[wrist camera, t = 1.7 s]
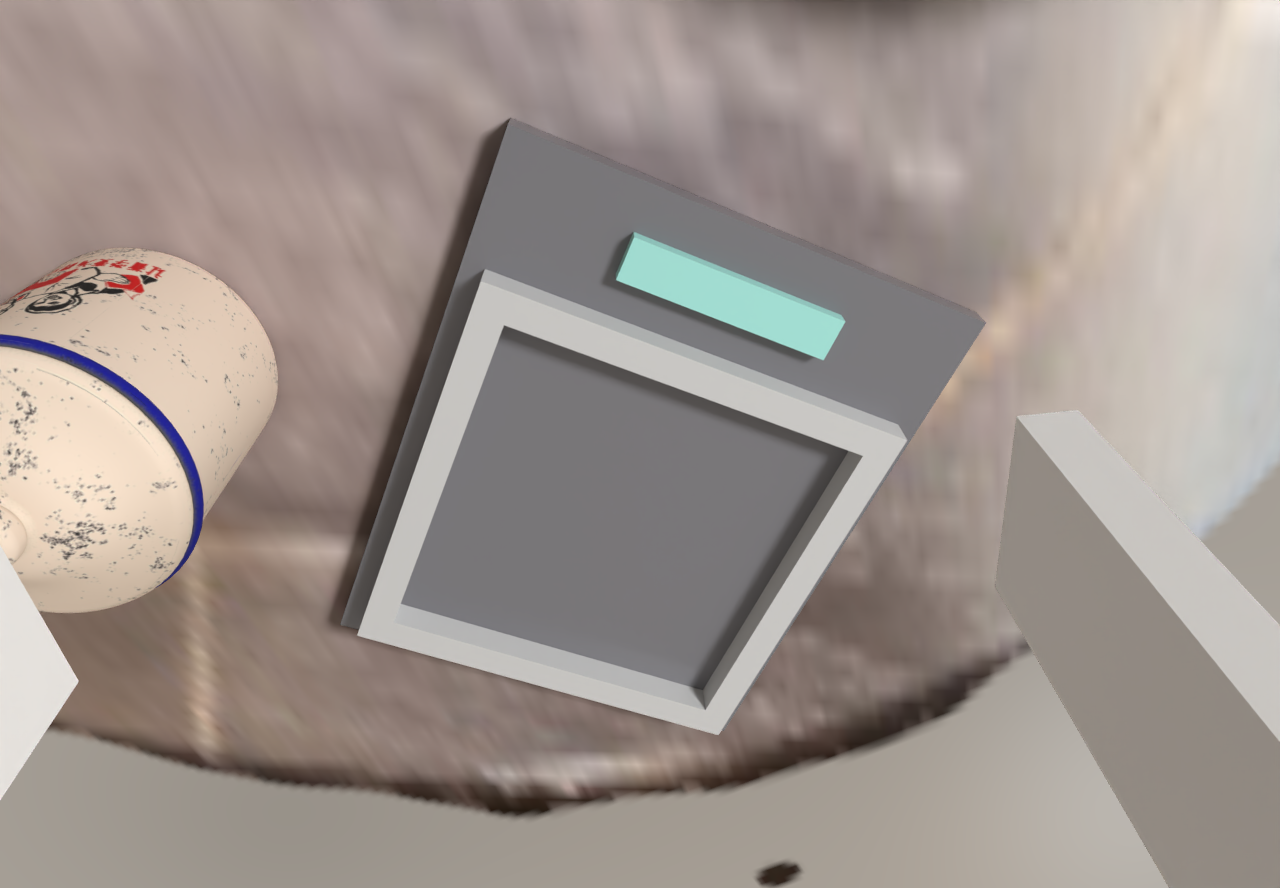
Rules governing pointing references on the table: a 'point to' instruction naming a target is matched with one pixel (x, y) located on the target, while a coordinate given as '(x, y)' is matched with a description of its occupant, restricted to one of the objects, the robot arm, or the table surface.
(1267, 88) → the table surface
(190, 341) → the teacup with lid
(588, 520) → the base
